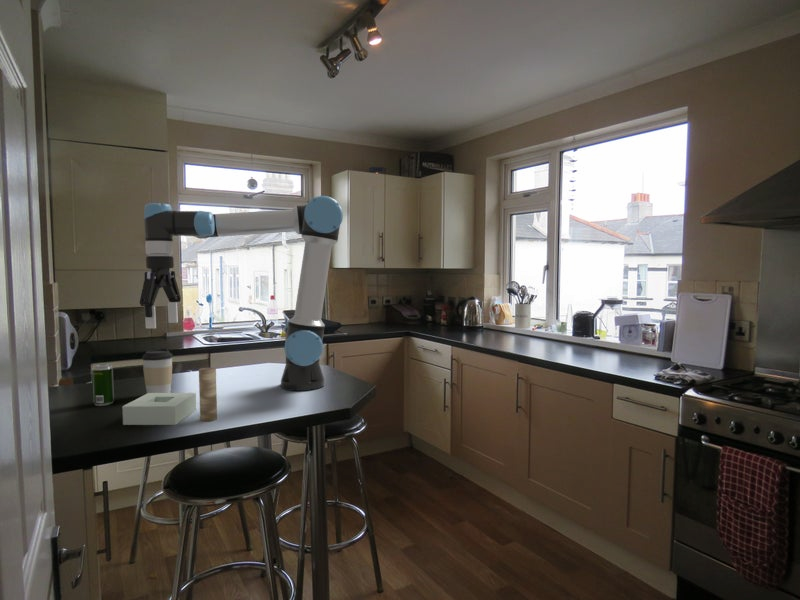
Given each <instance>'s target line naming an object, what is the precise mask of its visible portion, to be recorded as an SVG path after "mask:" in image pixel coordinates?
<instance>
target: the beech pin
mask: <svg viewBox="0 0 800 600" xmlns="http://www.w3.org/2000/svg"><path fill="white" fill-rule="evenodd" d="M198 387H199V388H198V389H199V393H198V394H199V418H200V419H199V420H200V422H208V423H209V422H213V421H216V420H217V419H218V406H217V403H218V402H217V401H218V400H217V399H218V398H217V394H218V393H217V368H215V367H201V368H199V369H198Z"/></svg>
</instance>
